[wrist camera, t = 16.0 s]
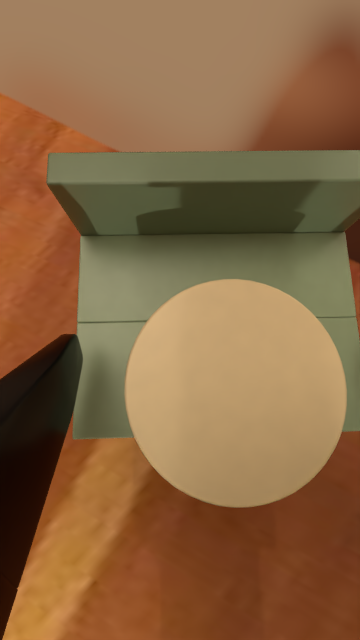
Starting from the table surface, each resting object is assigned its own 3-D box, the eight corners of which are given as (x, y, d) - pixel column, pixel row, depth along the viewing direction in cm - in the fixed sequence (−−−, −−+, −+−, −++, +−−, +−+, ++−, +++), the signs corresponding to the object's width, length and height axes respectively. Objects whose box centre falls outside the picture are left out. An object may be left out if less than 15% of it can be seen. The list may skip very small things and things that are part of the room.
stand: (281, 402, 20) (478, 454, 7) (116, 406, 19) (4, 468, 7) (271, 284, 21) (418, 148, 8) (118, 287, 21) (28, 151, 8)
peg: (216, 448, 17) (280, 560, 7) (134, 394, 18) (78, 421, 7) (265, 364, 18) (385, 351, 8) (186, 314, 19) (200, 240, 8)
